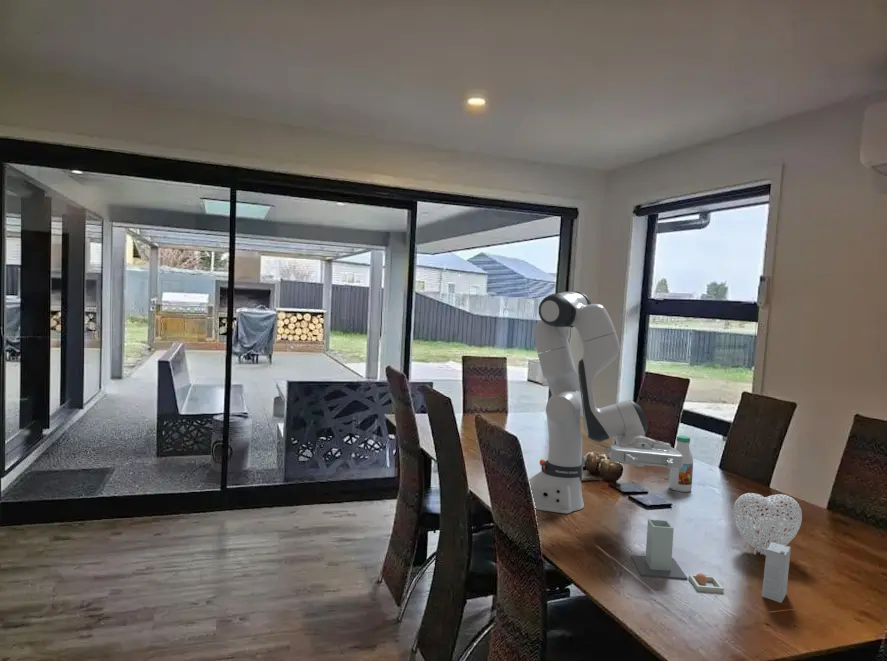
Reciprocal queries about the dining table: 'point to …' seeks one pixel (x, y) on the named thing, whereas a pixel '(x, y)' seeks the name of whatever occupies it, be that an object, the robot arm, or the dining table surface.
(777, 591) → the skincare box
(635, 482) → the dining table surface
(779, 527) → the decorative heart
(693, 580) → the sage dish
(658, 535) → the celadon tumbler
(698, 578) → the terracotta ball
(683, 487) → the milk bottle
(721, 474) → the dining table surface
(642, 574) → the slate coaster
